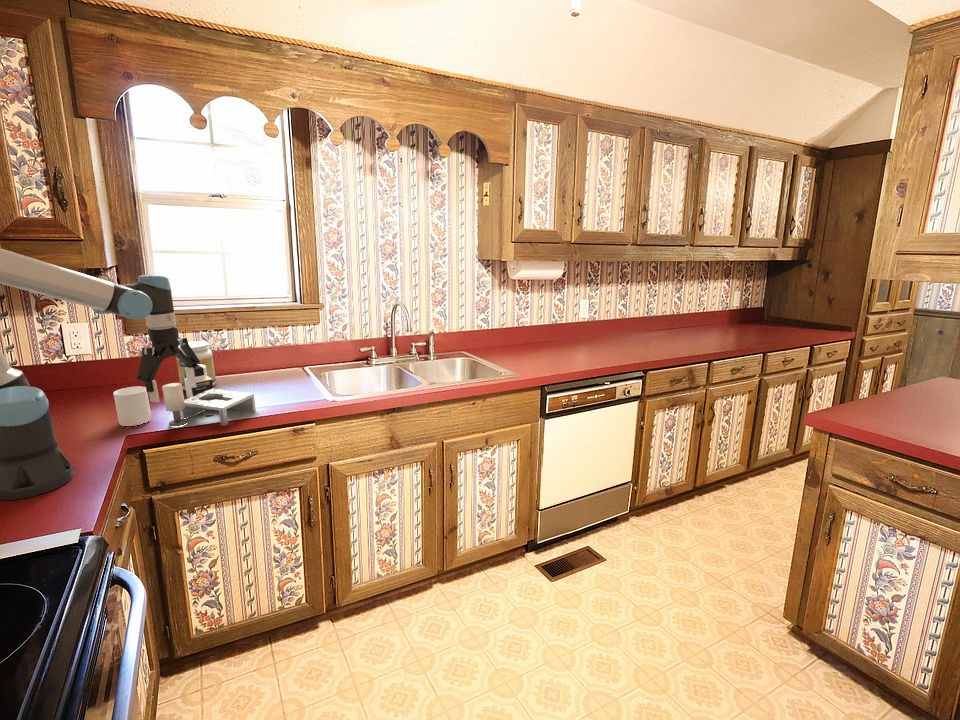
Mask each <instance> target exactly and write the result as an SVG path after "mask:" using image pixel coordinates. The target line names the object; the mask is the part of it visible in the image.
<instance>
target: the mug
mask: <svg viewBox="0 0 960 720" xmlns="http://www.w3.org/2000/svg"><path fill="white" fill-rule="evenodd" d="M112 394H113V398H114V403H115V404H114V405H115V409H116V414H117V419H118V423H119V425H120V426H121V425H122V426H121V427H123V426H133V425H139V424H143V423H146V422H148V421H149V422H151V420H152V412H151V408H150V407H151V406H150V399H149V393H148V392H147V391H146V387H145V386H127V387H124V388H120V389H117V390H115V391H113V393H112ZM149 422H148V423H149ZM146 424H147V423H146ZM143 425H144V424H143Z"/></svg>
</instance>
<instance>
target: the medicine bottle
mask: <svg viewBox="0 0 960 720" xmlns="http://www.w3.org/2000/svg"><path fill="white" fill-rule="evenodd" d="M195 372H196V376H195V380H196V386H197V387H195V388H193V387H188V384H187V378H185V379H184V382H185V388H186V390H185V393H186V397H187V399H188V398H190V397H193V396H195V395H198V394H200V393H203V392H206V391H208V390H211V389H214V386H213V382H212V379H211V378H209V377H208V376H207V371H206V366H205V365H202V364H197V367H195Z"/></svg>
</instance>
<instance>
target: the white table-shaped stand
mask: <svg viewBox="0 0 960 720" xmlns="http://www.w3.org/2000/svg"><path fill="white" fill-rule="evenodd" d="M184 401H185V408H184V409H182V410H180V414H181V418H182V419H184V418H187V417H189V418H191V417H190V416H192V417H194V416H196V415H198V414H197V413H199V412H201V411H203V410H205V411H207V410H206V409H208V410H213V411H218V414H219V421H220V423H219V424H220V426H224V427H225V426H227V425H229V418H228V414H227V413H228V412H227V409H228V410H229V409H235V410H241V411H249V412H254V411H256V400H255V394H254V393H251V392H243V391H234V390H226V389H217V388H213V389H211V390H208V391H206V392H203V393H200V394H198V395H195V396H193V397H190V398H188V397H187V398H184ZM203 412H204V411H203ZM201 413H202V412H201ZM195 414H196V415H195ZM199 414H200V413H199ZM193 415H194V416H193ZM187 419H188V418H187Z"/></svg>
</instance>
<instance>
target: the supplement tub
mask: <svg viewBox="0 0 960 720" xmlns="http://www.w3.org/2000/svg"><path fill="white" fill-rule="evenodd" d="M188 344H189V346H190V347H191V349H192V350H193V352H194V353H195V355H196V356H197V358H198V359H199V361H200V363H197V364H202V365H205V366H206V371H207V376H208V377H209V378H211V379H212V382H213V387H214V386H216V383H217V380H216V378H217V377H216V373H215V365H214V364H215V363H214V358H213V352H212V350H211V349H210V346H209V345H210V344H209V342H207V341H188ZM178 348H179V349H180V350H181V351H182V352H183V354H185V353H184V351H183V350H182V349H181V347H180V345H179V347H178ZM185 355H186V354H185ZM175 358H176V359H175V360H176V364H177V373H178V379H179V383H181V384H182V389H183V391H186V388H185V382H184V379H185V378H186V373H185V367H188V366H186V365H185V364H184V363H183V362H182V361H180V360H179V359H178V358H177V357H176V356H175Z"/></svg>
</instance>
